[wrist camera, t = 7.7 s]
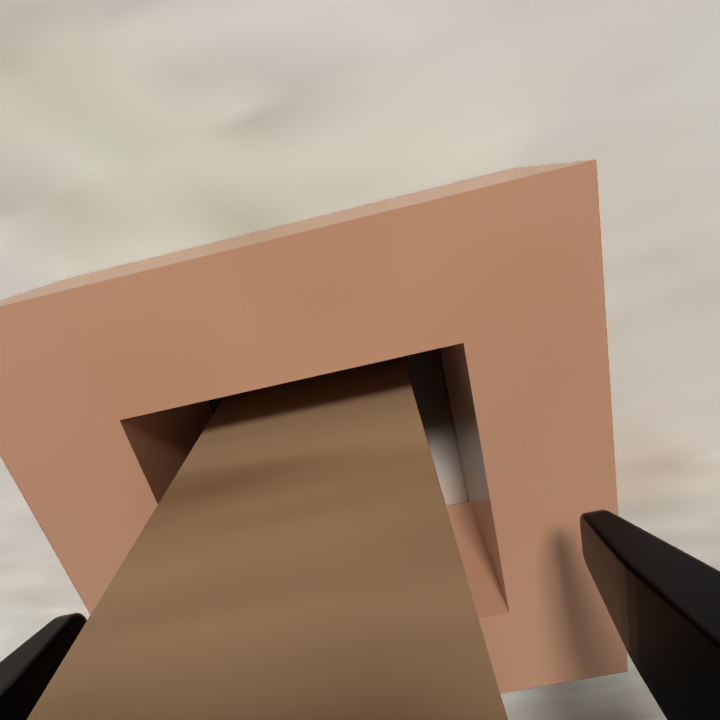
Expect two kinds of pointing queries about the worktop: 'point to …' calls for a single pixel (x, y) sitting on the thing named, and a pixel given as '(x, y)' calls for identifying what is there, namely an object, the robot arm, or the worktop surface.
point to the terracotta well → (339, 352)
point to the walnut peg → (291, 574)
